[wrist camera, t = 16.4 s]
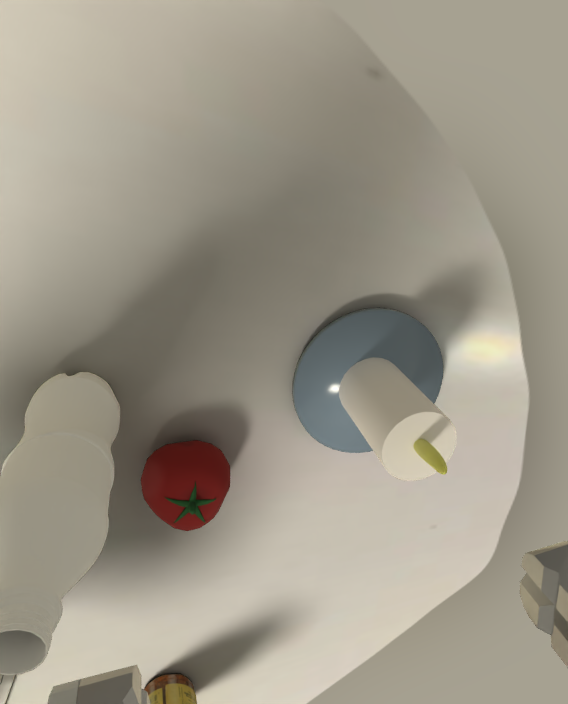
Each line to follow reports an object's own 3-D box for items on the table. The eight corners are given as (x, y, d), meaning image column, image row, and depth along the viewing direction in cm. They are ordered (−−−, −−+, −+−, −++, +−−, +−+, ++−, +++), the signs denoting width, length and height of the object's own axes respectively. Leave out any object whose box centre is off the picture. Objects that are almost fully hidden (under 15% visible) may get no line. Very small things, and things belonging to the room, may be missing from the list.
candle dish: (409, 448, 57) (416, 457, 56) (275, 438, 53) (279, 447, 52) (455, 316, 52) (463, 322, 51) (310, 294, 48) (315, 299, 47)
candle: (355, 429, 53) (425, 534, 39) (328, 379, 50) (393, 474, 36) (411, 396, 53) (500, 490, 39) (386, 345, 50) (473, 427, 36)
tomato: (230, 429, 52) (241, 473, 45) (219, 498, 54) (228, 549, 48) (144, 425, 49) (143, 471, 43) (137, 497, 52) (135, 550, 46)
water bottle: (43, 353, 45) (-66, 585, 22) (130, 371, 47) (111, 598, 25) (27, 427, 47) (-86, 706, 24) (111, 441, 49) (79, 707, 27)
